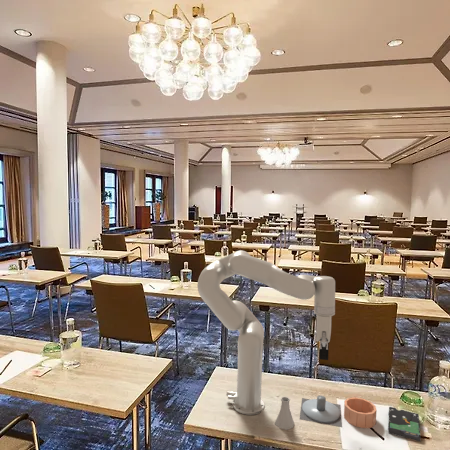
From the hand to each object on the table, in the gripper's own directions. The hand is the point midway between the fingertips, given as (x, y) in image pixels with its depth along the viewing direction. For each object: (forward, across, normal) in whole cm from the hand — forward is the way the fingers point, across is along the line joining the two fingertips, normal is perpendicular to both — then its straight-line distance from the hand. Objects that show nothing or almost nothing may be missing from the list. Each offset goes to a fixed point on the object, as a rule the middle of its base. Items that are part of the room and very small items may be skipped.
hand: (324, 354), depth 135 cm
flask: (+24, +12, -13) cm, 29 cm away
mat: (+24, -1, -1) cm, 24 cm away
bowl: (+24, -1, +13) cm, 28 cm away
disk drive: (+26, -3, +28) cm, 38 cm away
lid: (+23, -1, -1) cm, 23 cm away
